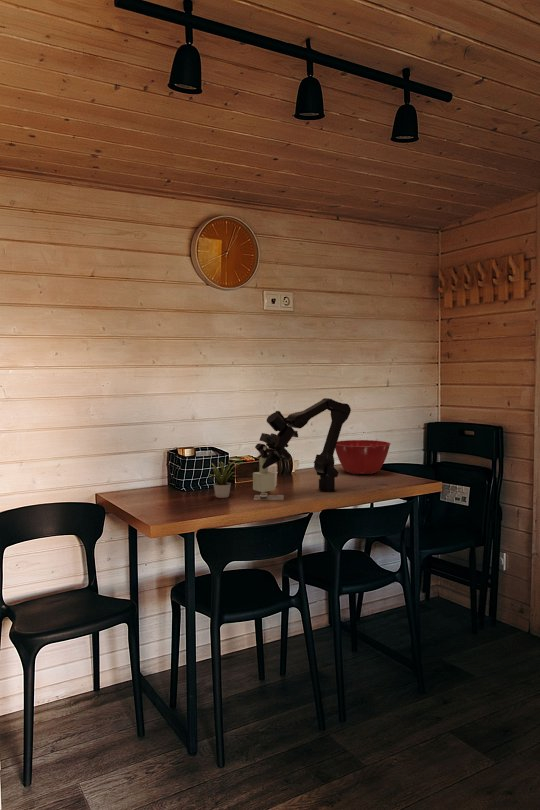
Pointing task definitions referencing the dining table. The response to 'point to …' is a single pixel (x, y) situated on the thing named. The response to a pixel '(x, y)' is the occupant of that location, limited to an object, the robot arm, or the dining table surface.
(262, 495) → the tea light
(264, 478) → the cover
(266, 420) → the robot arm
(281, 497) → the slate mat
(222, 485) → the house plant
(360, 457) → the mixing bowl
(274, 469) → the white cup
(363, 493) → the dining table surface
